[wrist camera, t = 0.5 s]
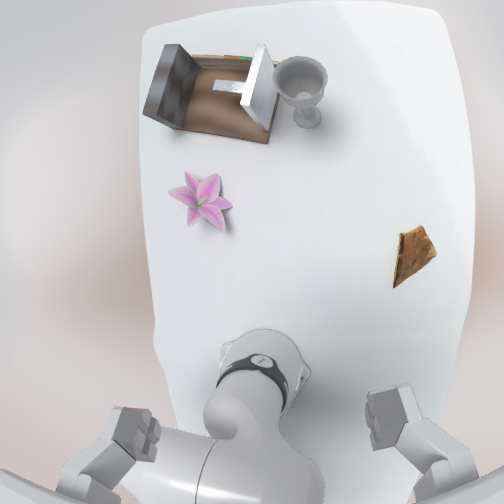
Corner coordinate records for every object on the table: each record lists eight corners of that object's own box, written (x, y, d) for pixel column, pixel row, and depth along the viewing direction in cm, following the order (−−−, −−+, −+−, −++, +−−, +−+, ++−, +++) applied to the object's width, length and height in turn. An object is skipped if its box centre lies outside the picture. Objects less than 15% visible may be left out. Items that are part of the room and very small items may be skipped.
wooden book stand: (267, 144, 55) (253, 127, 44) (172, 128, 59) (142, 113, 48) (284, 76, 53) (274, 48, 41) (191, 67, 57) (165, 43, 45)
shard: (391, 286, 54) (393, 289, 53) (370, 253, 54) (372, 254, 53) (436, 253, 52) (439, 255, 50) (416, 219, 52) (419, 220, 50)
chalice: (288, 134, 54) (273, 102, 37) (286, 100, 54) (270, 58, 36) (328, 132, 53) (330, 99, 35) (325, 98, 52) (324, 54, 35)
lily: (232, 240, 60) (238, 226, 51) (171, 241, 58) (166, 227, 49) (229, 183, 63) (235, 161, 54) (172, 183, 61) (168, 161, 52)
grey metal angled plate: (267, 131, 53) (248, 105, 39) (221, 123, 55) (189, 98, 40) (281, 77, 51) (267, 38, 37) (236, 71, 53) (209, 34, 38)
